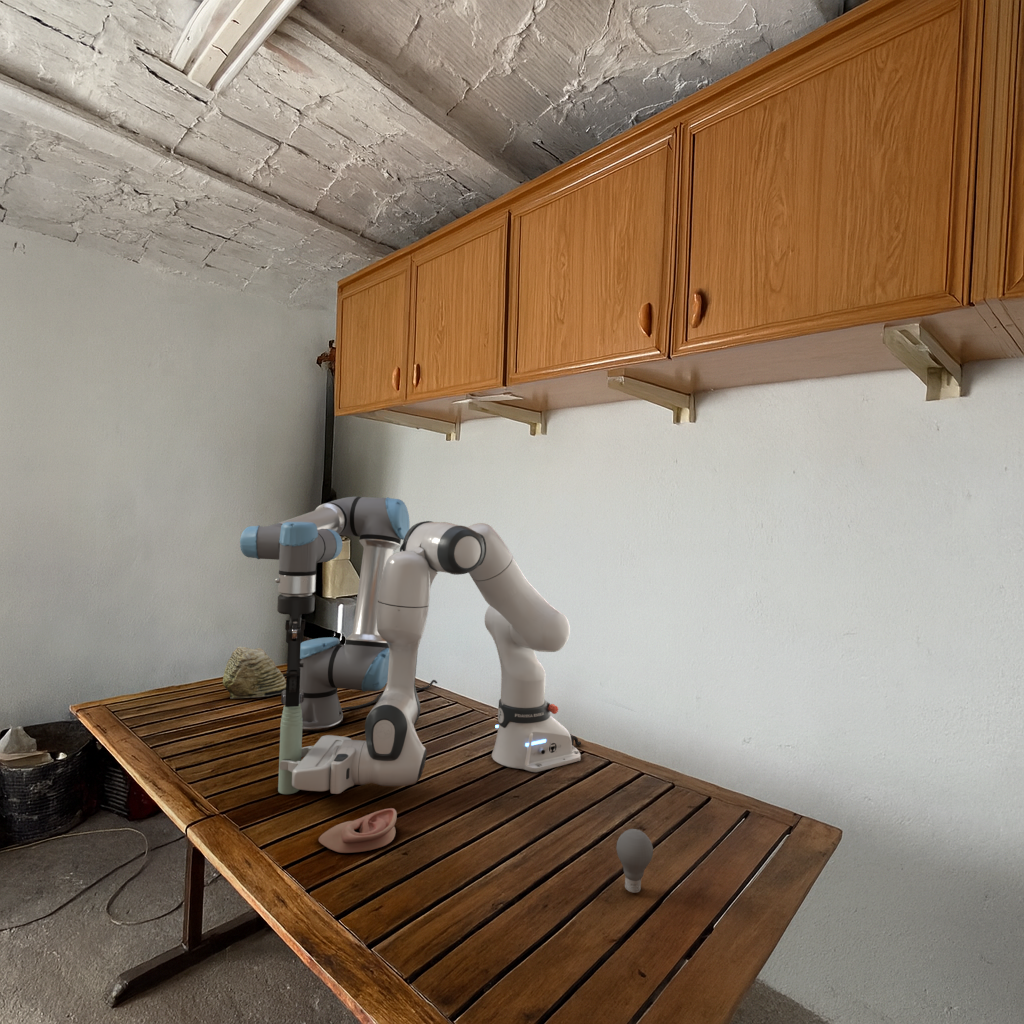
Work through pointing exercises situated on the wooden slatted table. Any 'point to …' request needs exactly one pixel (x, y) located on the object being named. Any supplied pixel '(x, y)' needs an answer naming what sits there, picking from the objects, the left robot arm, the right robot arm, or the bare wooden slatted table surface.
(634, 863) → the light bulb
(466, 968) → the wooden slatted table surface
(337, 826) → the anatomical model
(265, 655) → the fossil
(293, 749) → the bottle
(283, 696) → the cap
